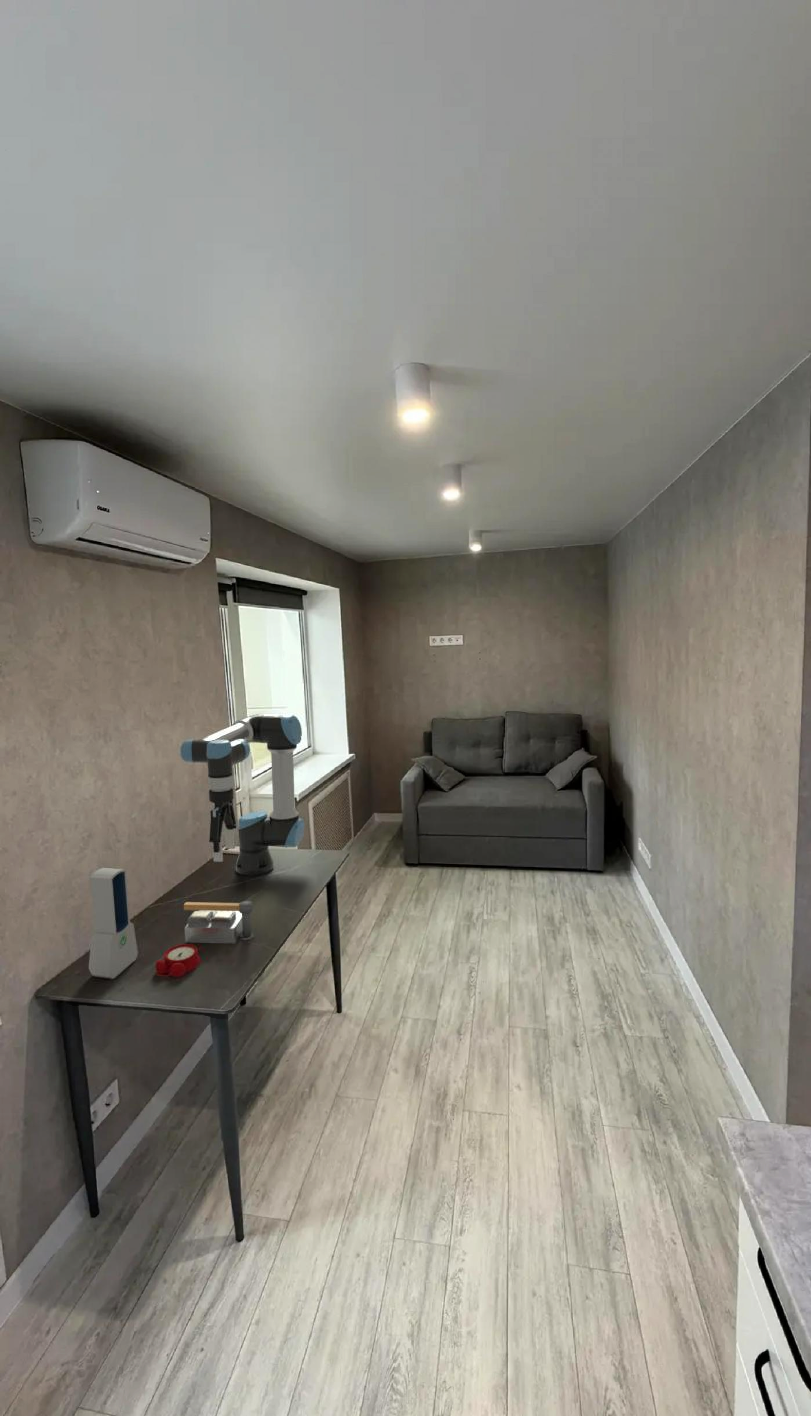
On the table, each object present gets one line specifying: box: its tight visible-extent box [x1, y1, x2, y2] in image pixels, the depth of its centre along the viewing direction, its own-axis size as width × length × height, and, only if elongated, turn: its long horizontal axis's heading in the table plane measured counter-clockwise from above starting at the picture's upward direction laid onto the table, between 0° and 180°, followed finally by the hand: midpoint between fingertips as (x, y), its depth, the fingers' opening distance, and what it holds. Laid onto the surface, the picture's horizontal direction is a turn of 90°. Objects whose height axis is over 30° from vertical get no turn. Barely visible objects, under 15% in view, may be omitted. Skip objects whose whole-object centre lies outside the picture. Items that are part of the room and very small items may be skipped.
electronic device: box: [88, 867, 139, 980], centre depth 176 cm, size 12×8×30 cm, turn 168°
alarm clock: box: [155, 943, 205, 978], centre depth 178 cm, size 10×6×15 cm
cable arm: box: [183, 900, 253, 937], centre depth 195 cm, size 22×4×11 cm, turn 86°
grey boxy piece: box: [184, 910, 256, 945], centre depth 197 cm, size 12×21×7 cm, turn 86°
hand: (224, 854), depth 197 cm, fingers open, 10 cm apart
